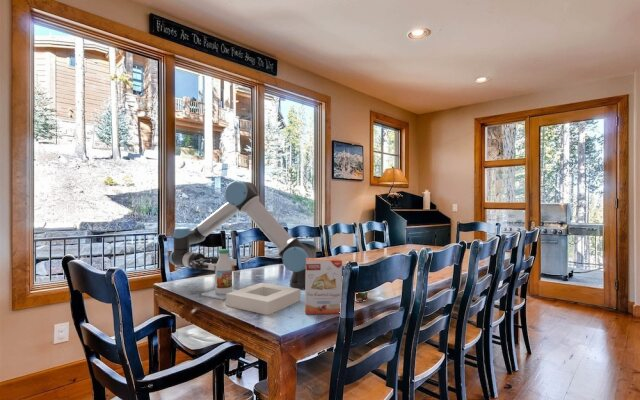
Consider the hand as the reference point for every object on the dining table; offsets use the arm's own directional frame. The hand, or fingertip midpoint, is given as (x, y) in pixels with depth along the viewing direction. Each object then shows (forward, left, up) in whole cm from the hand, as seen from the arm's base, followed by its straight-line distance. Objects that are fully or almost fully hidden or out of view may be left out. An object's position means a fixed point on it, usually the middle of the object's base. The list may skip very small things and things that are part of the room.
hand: (225, 264), depth 158 cm
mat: (+1, -1, -14) cm, 14 cm away
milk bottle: (+1, -1, -13) cm, 13 cm away
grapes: (-59, -9, -14) cm, 61 cm away
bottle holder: (-19, +14, -14) cm, 27 cm away
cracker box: (-43, +27, -14) cm, 53 cm away
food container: (-62, +11, -14) cm, 65 cm away
